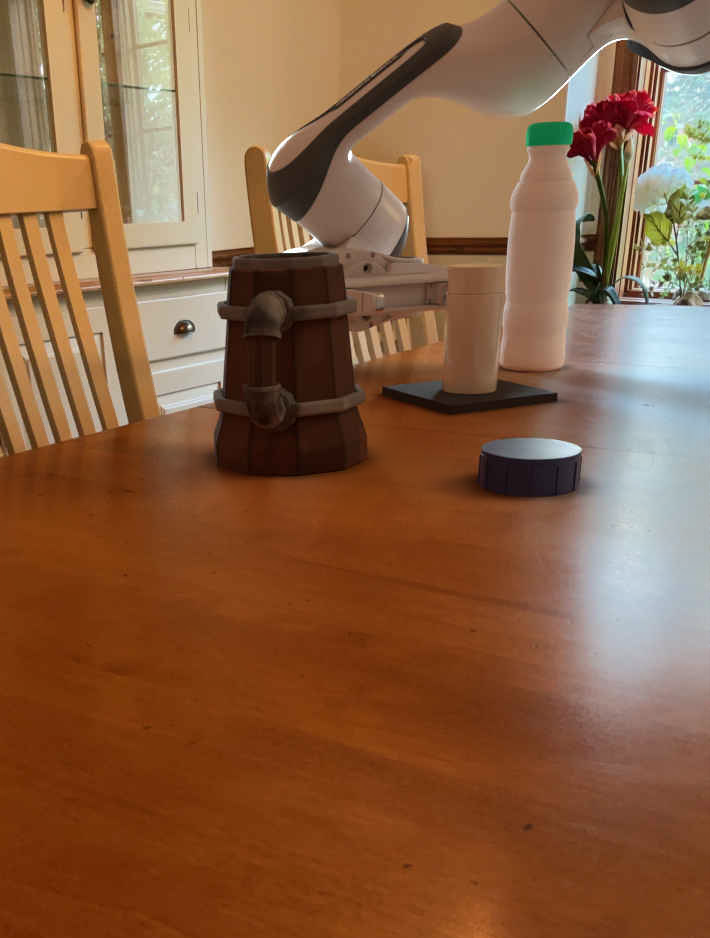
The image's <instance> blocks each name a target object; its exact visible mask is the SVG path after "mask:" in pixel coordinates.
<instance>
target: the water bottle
mask: <svg viewBox="0 0 710 938" xmlns="http://www.w3.org/2000/svg"><path fill="white" fill-rule="evenodd" d="M573 140H574V126H573V124H572V122H569V121H541V122H534V123H531V124H530V125H528V127H527V128H526V132H525V147H526V149H525V150H526V152H527V154H528V161H527V163H526V165H525V167H524V168H523V170H522V171H521V174H520V176H519V181H518V182H517V183H516V185H515V187H514V189H513V191H512V192H511V196H510V200H509V208H510V211H511V215H510V222H509V226H508V227H509V229H508V237H507V247H506V248H507V249H506V261H505V302H504V306H503V309H502V320H501V325H502V337H501V341H500V348H499V365H500V366H501V367H502V368H503V369H505V370H509V371H515V372H516V371H517V372H549V371H556V370H560V369H561V368H562V367H563V366H564V364H565V360H566V331H567V327H568V321H569V312H570V311H569V301H568V300H569V294H570V290H571V285H572V284H571V283H572V276H573V267H574V257H575V247H576V246H575V243H576V227H577V226H576V225H577V224H576V221H577V220H576V216H577V215H576V214H577V213H576V211H577V208H578V206H579V203H580V194H579V189H578V187H577V185H576V182H575V180H574V178H573V171H572V169H571V167H570V165H569V163H568V160H567V159H568V158H567V156H568V153H569V151H570V150H571V148H572V147H571V145H572V144H573Z"/></svg>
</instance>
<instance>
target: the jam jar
mask: <svg viewBox="0 0 710 938" xmlns="http://www.w3.org/2000/svg"><path fill="white" fill-rule="evenodd" d="M447 270H448V286H447V293H446V306H445V310H444V331H443V350H442V351H443V352H442V353H443V354H442V375H441V380H442V390H443V391H445V392H448V393H454V394H485V393H491V392H494V391H496V390H497V379H498V375H499V362H500V347H501V329H502V316H503V301H504V299H503V297H504V292H503V282H504V281H503V280H504V264H502V263H489V262H488V263H486V262H484V263H477V262H476V263H457V264H450V265H448V268H447Z"/></svg>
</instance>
